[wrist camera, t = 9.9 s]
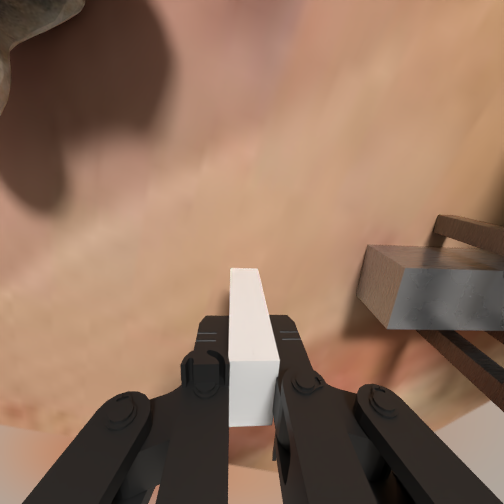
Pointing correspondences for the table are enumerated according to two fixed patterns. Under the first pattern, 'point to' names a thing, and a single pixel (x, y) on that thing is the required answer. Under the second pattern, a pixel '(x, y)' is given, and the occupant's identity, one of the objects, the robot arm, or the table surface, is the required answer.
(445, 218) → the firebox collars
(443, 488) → the robot arm
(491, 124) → the table surface
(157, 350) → the table surface
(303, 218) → the table surface
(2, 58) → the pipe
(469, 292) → the grey sharpening stone
